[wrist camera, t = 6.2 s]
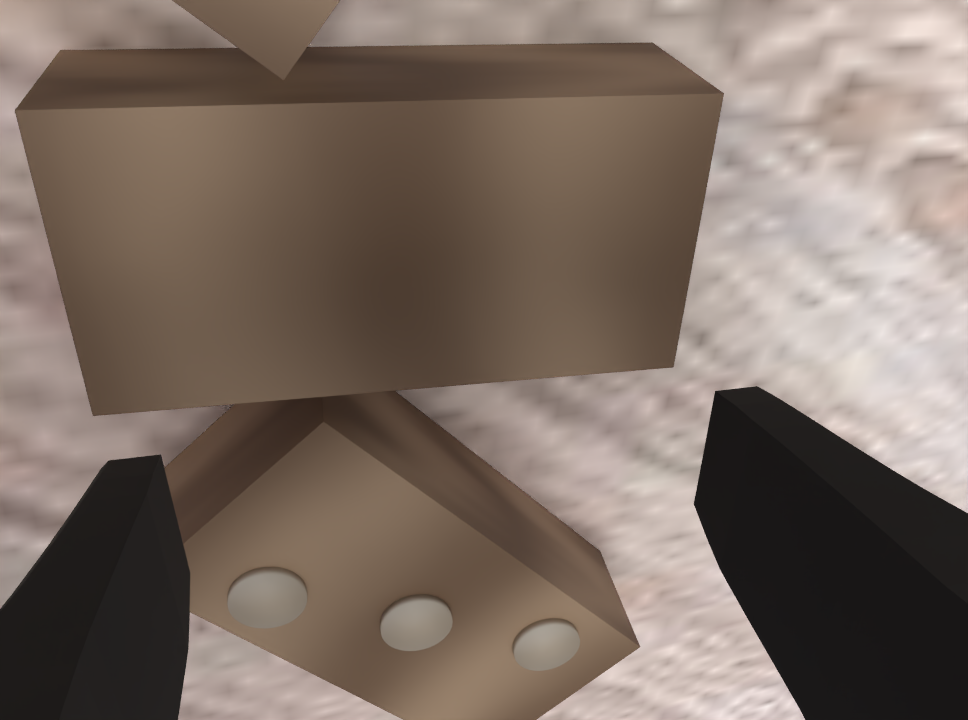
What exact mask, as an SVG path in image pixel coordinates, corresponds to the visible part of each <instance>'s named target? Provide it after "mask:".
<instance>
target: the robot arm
mask: <svg viewBox="0 0 968 720" xmlns="http://www.w3.org/2000/svg"><path fill="white" fill-rule="evenodd" d="M694 506H695V508H696V511H697V513H698V516H699V519H700V521H701V524H702V526H703V529H704V532H705V534H706V537H707V539H708V542H709V544H710V547H711V549H712V551H713V554H714V556H715V558H716V561H717V563H718V565H719V568H720V570H721V572H722V573H723V575H724V577H725V579H726V581H727V583H728V584H729V586H730V588H731V590H732V592H733V593H734V595H735V597H736V599H737V600H738V602H739V604H740V606H741V608H742V609H743V611H744V613H745V615H746V616H747V618H748V620H749V622H750V623H751V625H752V627H753V629H754V630H755V632H756V634H757V636H758V637H759V639H760V641H761V642H762V644H763V646H764V648H765V649H766V651H767V653H768V655H769V656H770V658H771V660H772V662H773V663H774V665H775V667H776V668H777V670H778V672H779V674H780V675H781V677H782V679H783V681H784V682H785V684H786V686H787V688H788V689H789V691H790V693H791V695H792V696H793V698H794V700H795V701H796V703H797V705H798V707H799V708H800V710H801V712H802V714H803V716H804V718H805V720H968V513H966V512H964V511H963V510H961V509H959V508H957V507H955V506H954V505H952V504H950V503H948V502H946V501H945V500H943V499H941V498H939V497H937V496H936V495H934V494H932V493H930V492H928V491H927V490H925V489H923V488H922V487H920V486H918V485H917V484H915V483H913V482H911V481H910V480H908V479H906V478H905V477H903V476H901V475H900V474H898V473H896V472H895V471H893V470H891V469H890V468H888V467H887V466H885V465H883V464H882V463H880V462H878V461H877V460H875V459H874V458H872V457H870V456H869V455H867V454H866V453H864V452H862V451H861V450H859V449H858V448H856V447H854V446H853V445H851V444H850V443H848V442H847V441H845V440H843V439H842V438H840V437H839V436H837V435H836V434H834V433H832V432H831V431H829V430H828V429H826V428H825V427H823V426H822V425H820V424H818V423H817V422H815V421H814V420H812V419H811V418H809V417H807V416H806V415H804V414H803V413H801V412H800V411H798V410H796V409H795V408H793V407H792V406H790V405H788V404H787V403H785V402H784V401H782V400H780V399H779V398H777V397H775V396H774V395H772V394H770V393H768V392H767V391H765V390H763V389H761V388H759V387H757V386H756V387H747V388H739V389H730V390H721V391H715V395H714V401H713V406H712V411H711V417H710V422H709V427H708V432H707V438H706V443H705V448H704V454H703V459H702V464H701V469H700V475H699V480H698V485H697V491H696V496H695V501H694ZM189 615H190V570H189V566H188V561H187V557H186V553H185V549H184V545H183V541H182V537H181V533H180V529H179V525H178V521H177V517H176V513H175V509H174V505H173V501H172V497H171V493H170V489H169V485H168V481H167V477H166V473H165V469H164V465H163V461H162V457H161V455H154V456H145V457H136V458H127V459H119V460H110V461H108V462H107V463H106V464H105V465H104V466H103V467H102V468H101V470H100V471H99V473H98V474H97V476H96V477H95V479H94V480H93V481H92V483H91V484H90V486H89V487H88V489H87V490H86V492H85V493H84V495H83V496H82V498H81V499H80V501H79V502H78V504H77V505H76V507H75V508H74V510H73V511H72V513H71V514H70V515H69V517H68V518H67V520H66V521H65V523H64V524H63V526H62V527H61V528H60V530H59V531H58V533H57V534H56V535H55V537H54V538H53V540H52V541H51V543H50V544H49V545H48V547H47V548H46V549H45V551H44V552H43V553H42V555H41V556H40V558H39V559H38V560H37V562H36V563H35V564H34V566H33V567H32V568H31V570H30V571H29V572H28V574H27V575H26V576H25V578H24V579H23V580H22V582H21V583H20V584H19V586H18V587H17V588H16V590H15V591H14V592H13V594H12V595H11V596H10V598H9V599H8V600H7V601H6V603H5V604H4V605H3V606H2V608H1V609H0V720H178V715H179V708H180V702H181V695H182V688H183V682H184V675H185V668H186V661H187V654H188V642H189Z"/></svg>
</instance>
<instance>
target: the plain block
mask: <svg viewBox="0 0 968 720" xmlns="http://www.w3.org/2000/svg"><path fill="white" fill-rule="evenodd" d="M723 95H724V93H722V92H721V91H720V90H718V89H717V88H715V87H714V86H713V85H711V84H710V83H708V82H707V81H706V80H704V79H703V78H701V77H700V76H699V75H697V74H696V73H694V72H693V71H692V70H690V69H689V68H687V67H686V66H685V65H683V64H682V63H680V62H679V61H678V60H676V59H675V58H673V57H672V56H670V55H669V54H668V53H666V52H665V51H663V50H662V49H661V48H659V47H658V46H656V45H655V44H654V43H589V44H511V45H433V46H355V47H307V48H306V49H305V51H304V52H303V53H302V55H301V56H300V58H299V59H298V61H297V62H296V63H295V65H294V66H293V68H292V69H291V70H290V72H289V73H288V75H287V76H286V77H285V79H284V80H283V79H281V78H280V77H278V76H277V75H276V74H274V73H273V72H271V71H270V70H269V69H267V68H266V67H264V66H263V65H262V64H260V63H259V62H257V61H256V60H255V59H253V58H252V57H251V56H249V55H248V54H246V53H245V52H244V51H242V50H241V49H239V48H199V49H120V50H60V51H59V53H58V54H57V55H56V57H55V58H54V59H53V61H52V62H51V63H50V65H49V66H48V67H47V69H46V70H45V71H44V73H43V74H42V75H41V77H40V78H39V79H38V80H37V82H36V83H35V84H34V86H33V87H32V88H31V90H30V91H29V92H28V94H27V95H26V96H25V98H24V99H23V100H22V102H21V103H20V104H19V106H18V107H17V108H16V109H15V113H16V117H17V121H18V125H19V129H20V133H21V137H22V140H23V144H24V148H25V152H26V156H27V160H28V164H29V168H30V172H31V176H32V180H33V183H34V187H35V191H36V195H37V199H38V203H39V207H40V211H41V215H42V219H43V223H44V226H45V230H46V234H47V238H48V242H49V246H50V250H51V254H52V258H53V262H54V266H55V269H56V273H57V277H58V281H59V285H60V289H61V293H62V297H63V301H64V305H65V309H66V312H67V316H68V320H69V324H70V328H71V332H72V336H73V340H74V344H75V348H76V352H77V356H78V359H79V363H80V367H81V371H82V375H83V379H84V383H85V387H86V391H87V395H88V399H89V402H90V406H91V410H92V414H93V416H98V415H110V414H122V413H134V412H146V411H158V410H170V409H181V408H193V407H205V406H217V405H229V404H241V403H253V402H265V401H277V400H289V399H301V398H313V397H325V396H337V395H349V394H360V393H372V392H384V391H396V390H408V389H420V388H432V387H444V386H456V385H468V384H480V383H492V382H504V381H516V380H528V379H539V378H551V377H563V376H575V375H587V374H599V373H611V372H623V371H635V370H647V369H659V368H671V367H674V361H675V356H676V350H677V345H678V339H679V334H680V329H681V323H682V318H683V312H684V307H685V301H686V296H687V291H688V285H689V280H690V274H691V269H692V263H693V258H694V253H695V247H696V242H697V236H698V231H699V225H700V220H701V215H702V209H703V204H704V198H705V193H706V187H707V182H708V177H709V171H710V166H711V160H712V155H713V149H714V144H715V139H716V133H717V128H718V122H719V117H720V111H721V106H722V101H723Z"/></svg>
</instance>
